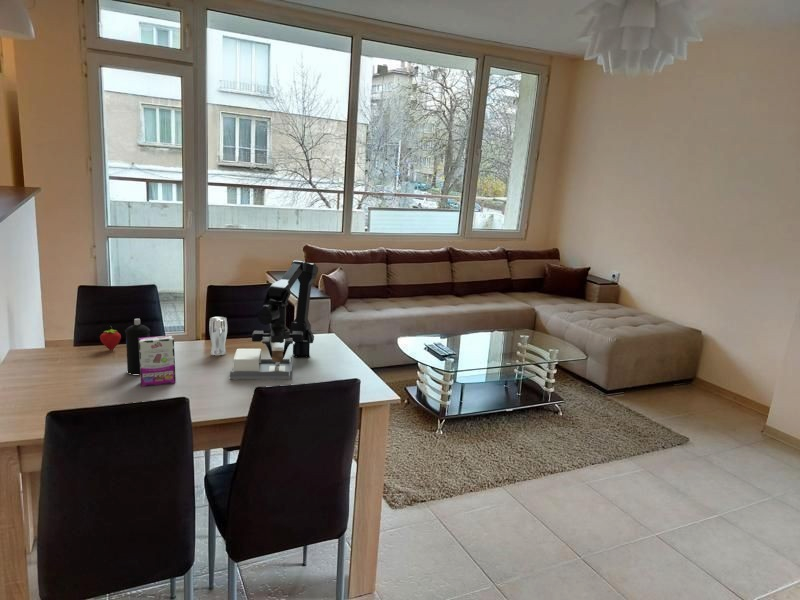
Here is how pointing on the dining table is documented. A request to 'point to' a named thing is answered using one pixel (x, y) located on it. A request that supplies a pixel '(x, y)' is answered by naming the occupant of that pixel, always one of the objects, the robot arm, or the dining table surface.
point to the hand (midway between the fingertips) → (277, 357)
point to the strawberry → (110, 338)
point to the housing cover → (247, 360)
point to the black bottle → (135, 345)
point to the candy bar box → (157, 360)
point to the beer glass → (218, 335)
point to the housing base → (266, 371)
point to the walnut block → (277, 354)
